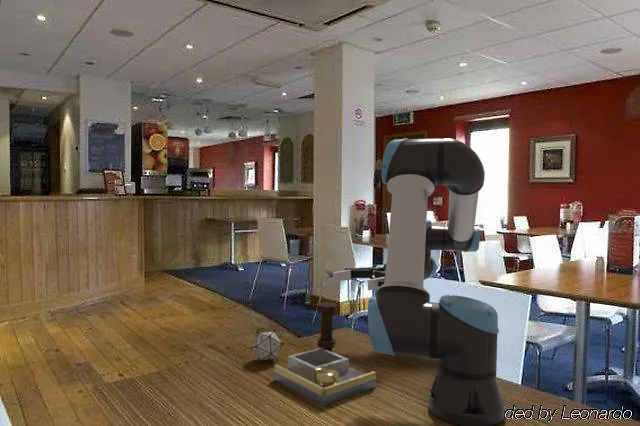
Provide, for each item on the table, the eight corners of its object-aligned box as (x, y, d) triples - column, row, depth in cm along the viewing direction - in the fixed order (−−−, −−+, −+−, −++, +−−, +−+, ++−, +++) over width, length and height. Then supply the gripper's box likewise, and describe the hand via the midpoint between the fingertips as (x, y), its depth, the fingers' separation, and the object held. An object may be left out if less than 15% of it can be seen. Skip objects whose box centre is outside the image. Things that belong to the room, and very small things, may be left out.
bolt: (333, 363, 127) (334, 307, 126) (314, 362, 128) (315, 306, 127) (337, 356, 133) (338, 302, 132) (319, 354, 134) (319, 301, 133)
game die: (271, 376, 128) (278, 354, 122) (242, 362, 129) (247, 340, 123) (284, 350, 135) (291, 328, 129) (257, 338, 136) (262, 315, 130)
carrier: (375, 387, 112) (375, 365, 112) (323, 406, 102) (323, 383, 102) (324, 364, 126) (325, 345, 126) (274, 379, 116) (274, 359, 116)
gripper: (432, 291, 140) (384, 303, 126) (368, 277, 159) (320, 286, 145) (433, 265, 140) (385, 274, 126) (369, 255, 158) (321, 261, 144)
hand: (350, 281), depth 135 cm, fingers open, 13 cm apart
